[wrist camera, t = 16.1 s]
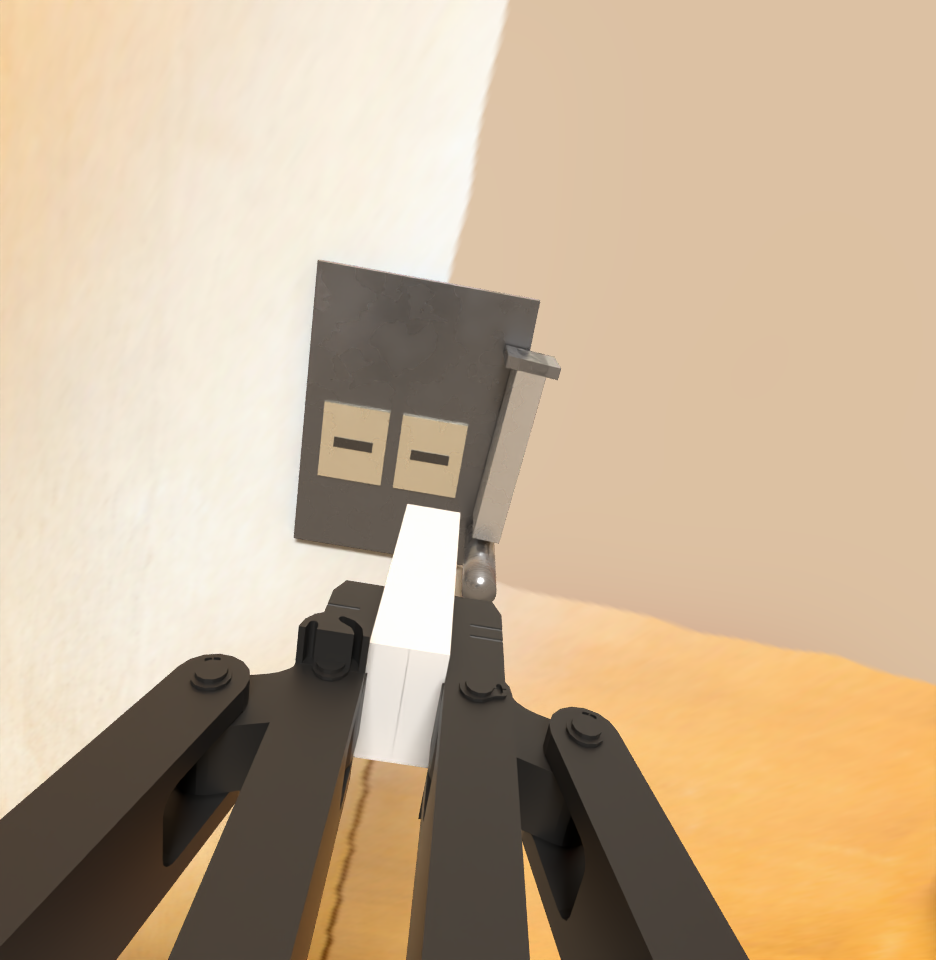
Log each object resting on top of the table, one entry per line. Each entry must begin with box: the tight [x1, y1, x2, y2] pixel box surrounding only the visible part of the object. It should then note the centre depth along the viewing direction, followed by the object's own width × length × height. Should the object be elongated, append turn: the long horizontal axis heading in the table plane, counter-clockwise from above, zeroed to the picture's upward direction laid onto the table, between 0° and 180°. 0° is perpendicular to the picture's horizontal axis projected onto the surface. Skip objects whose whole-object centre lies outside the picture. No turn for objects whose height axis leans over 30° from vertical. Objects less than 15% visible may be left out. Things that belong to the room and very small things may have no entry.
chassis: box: [294, 260, 540, 602], centre depth 46 cm, size 16×22×10 cm
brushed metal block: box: [472, 345, 561, 543], centre depth 47 cm, size 14×4×4 cm, turn 167°
